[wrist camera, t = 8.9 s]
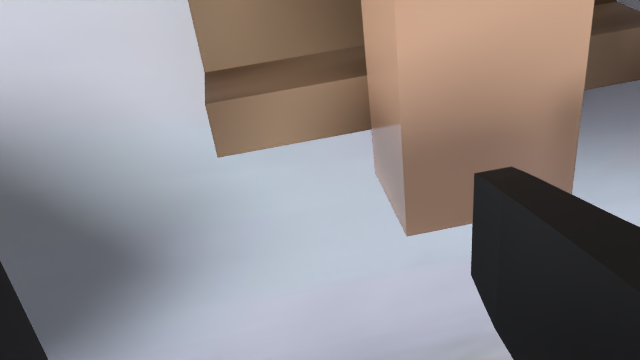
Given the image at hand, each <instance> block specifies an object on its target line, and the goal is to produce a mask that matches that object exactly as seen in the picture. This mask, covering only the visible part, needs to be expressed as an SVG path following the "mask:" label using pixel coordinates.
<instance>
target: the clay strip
mask: <svg viewBox="0 0 640 360" xmlns="http://www.w3.org/2000/svg"><path fill="white" fill-rule="evenodd" d="M361 7H362V19H363V31H364V44H365V56H366V68H367V80H368V92H369V105H370V117H371V129H372V141H373V153H374V166H375V174H376V176H377V178H378V180H379V182H380V184H381V186H382V188H383V190H384V192H385V194H386V196H387V198H388V200H389V202H390V204H391V206H392V208H393V210H394V212H395V214H396V216H397V218H398V220H399V222H400V224H401V226H402V228H403V230H404V232H405V234H406V236H412V235H417V234H422V233H427V232H432V231H437V230H442V229H447V228H452V227H457V226H462V225H467V224H472V223H473V195H474V173H479V172H484V171H489V170H495V169H500V168H506V167H511V166H512V167H514V168H517V169H519V170H522V171H524V172H526V173H528V174H531V175H533V176H535V177H537V178H539V179H541V180H543V181H545V182H547V183H549V184H552V185H554V186H556V187H558V188H560V189H562V190H564V191H566V192H568V193H570V194H572V188H573V179H574V171H575V162H576V154H577V145H578V137H579V128H580V120H581V111H582V103H583V94H584V85H585V77H586V68H587V60H588V51H589V43H590V34H591V26H592V17H593V9H594V0H361Z"/></svg>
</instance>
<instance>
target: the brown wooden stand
mask: <svg viewBox="0 0 640 360" xmlns="http://www.w3.org/2000/svg"><path fill="white" fill-rule="evenodd" d="M188 2H189V7H190V11H191V15H192V20H193V24H194V28H195V33H196V37H197V41H198V46H199V50H200V54H201V59H202V63H203V67H204V72H205V106H206V110H207V114H208V119H209V123H210V127H211V131H212V135H213V140H214V144H215V148H216V152H217V157H224V156H229V155H234V154H240V153H245V152H251V151H256V150H262V149H267V148H272V147H278V146H283V145H289V144H294V143H300V142H305V141H310V140H316V139H321V138H327V137H332V136H338V135H343V134H348V133H354V132H359V131H365V130H370V129H371V117H370V105H369V92H368V80H367V68H366V56H365V44H364V31H363V19H362V7H361V0H188ZM636 80H640V12H639V11H637V10H634V9H632V8H630V7H627V6H625V5H623V4H621V3H618V2H616V0H594V9H593V17H592V26H591V34H590V43H589V51H588V60H587V68H586V77H585V85H584V90H587V89H593V88H598V87H604V86H609V85H615V84H620V83H625V82H631V81H636Z"/></svg>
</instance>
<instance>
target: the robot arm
mask: <svg viewBox="0 0 640 360" xmlns="http://www.w3.org/2000/svg"><path fill="white" fill-rule="evenodd" d="M471 276H472V278H473V280H474V283H475V285H476V287H477V290H478V292H479V294H480V297H481V299H482V301H483V304H484V306H485V308H486V310H487V312H488V315H489V317H490V319H491V321H492V323H493V325H494V328H495V329H496V331H497V333H498V334H499V336H500V338H501V339H502V341H503V343H504V344H505V346H506V348H507V349H508V351H509V353H510V354H511V356H512V358H513V359H514V360H640V227H638V226H636V225H634V224H632V223H629V222H627V221H625V220H623V219H621V218H619V217H617V216H615V215H613V214H611V213H608V212H606V211H604V210H602V209H600V208H598V207H596V206H594V205H592V204H590V203H588V202H586V201H584V200H582V199H580V198H578V197H576V196H574V195H572V194H570V193H568V192H566V191H564V190H562V189H560V188H558V187H556V186H554V185H552V184H549V183H547V182H545V181H543V180H541V179H539V178H537V177H535V176H533V175H531V174H528V173H526V172H524V171H522V170H519V169H517V168H514V167H512V166H511V167H506V168H500V169H495V170H489V171H484V172H479V173H474V195H473V227H472V260H471ZM47 359H48V358H47V356H46V354H45V352H44V350H43V348H42V346H41V344H40V342H39V340H38V338H37V336H36V334H35V332H34V330H33V328H32V325H31V323H30V321H29V319H28V317H27V315H26V313H25V311H24V309H23V307H22V305H21V303H20V301H19V299H18V297H17V295H16V293H15V290H14V288H13V286H12V284H11V282H10V280H9V278H8V276H7V274H6V272H5V270H4V268H3V266H2V264H1V262H0V360H47Z"/></svg>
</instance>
